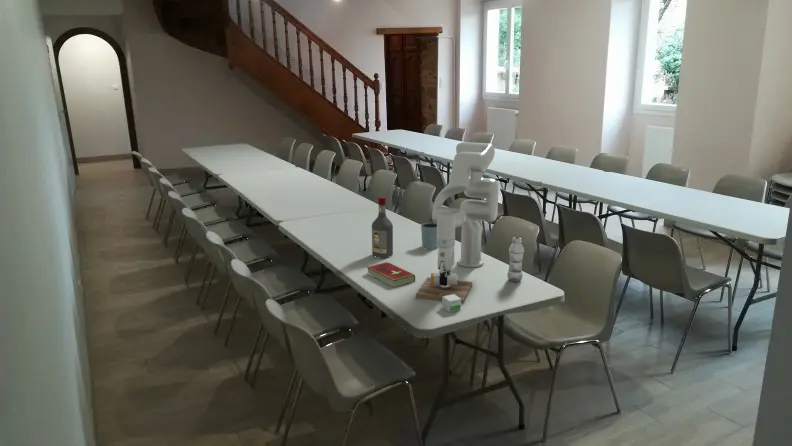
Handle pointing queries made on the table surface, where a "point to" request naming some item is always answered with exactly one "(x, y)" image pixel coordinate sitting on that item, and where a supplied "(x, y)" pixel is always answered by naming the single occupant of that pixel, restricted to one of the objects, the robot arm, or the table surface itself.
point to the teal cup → (429, 235)
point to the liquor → (382, 233)
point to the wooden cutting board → (443, 290)
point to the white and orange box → (450, 280)
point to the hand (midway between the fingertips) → (444, 282)
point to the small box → (451, 303)
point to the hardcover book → (391, 274)
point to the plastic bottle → (515, 260)
